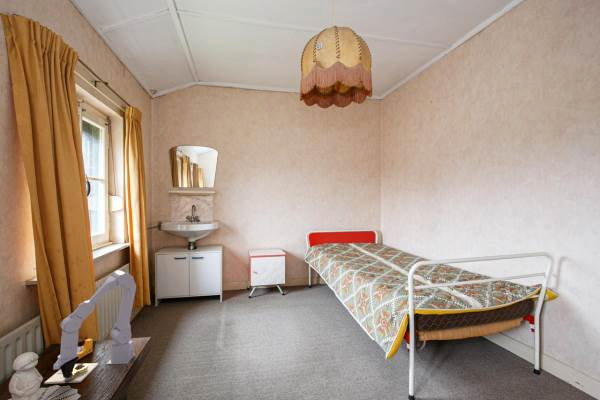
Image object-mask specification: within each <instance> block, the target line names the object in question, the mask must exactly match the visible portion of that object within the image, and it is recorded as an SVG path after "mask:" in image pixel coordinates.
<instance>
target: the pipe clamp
mask: <svg viewBox="0 0 600 400" xmlns="http://www.w3.org/2000/svg"><path fill="white" fill-rule="evenodd" d="M93 343H94V339H93V338H87V339H85V340H84V344H83V345H82V346H81V347H82V351H81V352H79V353H78V355H77V356H76V357H79V359H78V360H81V359H82V358H84V357H85V356H87V355H88V354H90V353H92V352H93V347H94V346H93V345H94V344H93ZM78 360H77V361H78Z"/></svg>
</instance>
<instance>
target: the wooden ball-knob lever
mask: <svg viewBox="0 0 600 400" xmlns="http://www.w3.org/2000/svg"><path fill="white" fill-rule="evenodd" d="M82 364H83V368H82V369H79V370H77V365H76V366H74V369H73V371H72V373H71V374H70V375H69V376H67V377H66V378H65V383H64V384H69V383H68V382H70V381H72V379H73V378H74V377H75V376H76V375H78V374H81V373H84V372H85V371H86V370H87V369H88V364H87V363H82Z"/></svg>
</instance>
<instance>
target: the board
mask: <svg viewBox="0 0 600 400" xmlns="http://www.w3.org/2000/svg"><path fill="white" fill-rule="evenodd" d="M83 364H84V363H76V364H75V366H76V365H77V370H79V369H82V368H83ZM86 364H88V369H87V370H86V371H85V372H84V373H81V374H78V375H76V376H75V377H74V378H73V379H72V381H70V382H68V383H67V384H70V383H71V384H72V383H73V384H74V383H82V382H83V380H85V379H86V378H87V377H88V376H89V375H90V374H91V373H93V371H94V370H95V369H96V368H97V367H98V366H99V365H100V363H99V362H93V363H91V362H89V363H86ZM48 384H49V385H50V384H53V385H54V384H66V383H65V378H64V377H63V374H62V371H61V369H58V371H57V372H55V373H54V374H53V375H52V376H50V377H49V378H48V379H47V380H46V381H44V385H48Z"/></svg>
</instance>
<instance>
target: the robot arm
mask: <svg viewBox="0 0 600 400" xmlns="http://www.w3.org/2000/svg"><path fill="white" fill-rule="evenodd" d="M119 288H121V289H123V292H122V297H121V301H120V307H119V311H118V316H117V320H116V322H115V323H114V325H113V328H112V329H111V331H110V334H109V335H110V338H111V339H112V341H111V348H110V349H111V352H110V359H109V360H108V361H107V362H106V365H125V364H126V365H127V364H129V362H130V361H131V360H132V359H133V358H134V357H135V356H136V355H135V348H136V345H135V341H134V340H131V338H132V331H131V330H132V329H131V328H132V326H131V322H130V321H131V316H132V310H133V306H134V300H135V295H136V292H137V284H136V282H135V279H134V276H133V275H132V274H130V273H128V272H126V271H123V270H121V269H120V270H119V269H118V270H114V271H113V272H112V273H111V275H109V276H108V277H107V279H106V280H105V281H104V282H103V284H102V285H101V286H100V287H99V288H98V289H97V290H96V291H95V292H94V293H93V295H92V296H91V297H90V298H89V299H88V300H85V301H83V302H80V303H79V304H78V305H77V306H78V307H76V309H75V310H74V311H73V312H71V313H70V314H69V315H68V316H67V317H65V318H64V319H62V321H61V323H60V324H59V327H60V328H61V329H62V330H61V338H60V354H59V355H58V356H57V360H56V362H55V363H54V364H53V370H60V369H61V371H62V374H63V377H64V378H66V377H67V376H69V375H70V374H71V373H72V371H73V369H74V366H75V364H77V362H78V359H79V357H76V356H77V355H78V353H79V352H81V351H82V346H79V329H81V327H82V323H83V322H84V320H86V319H87V317H88V316H90V315H91V313H92V312H93V311H94V310H95V309H96V304H97V303H99V301H100V300H101V299H103V297H105V296H106V295H107V294H108V293H109V292H110V291H111V290H114V289H119ZM79 360H80V359H79Z"/></svg>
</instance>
